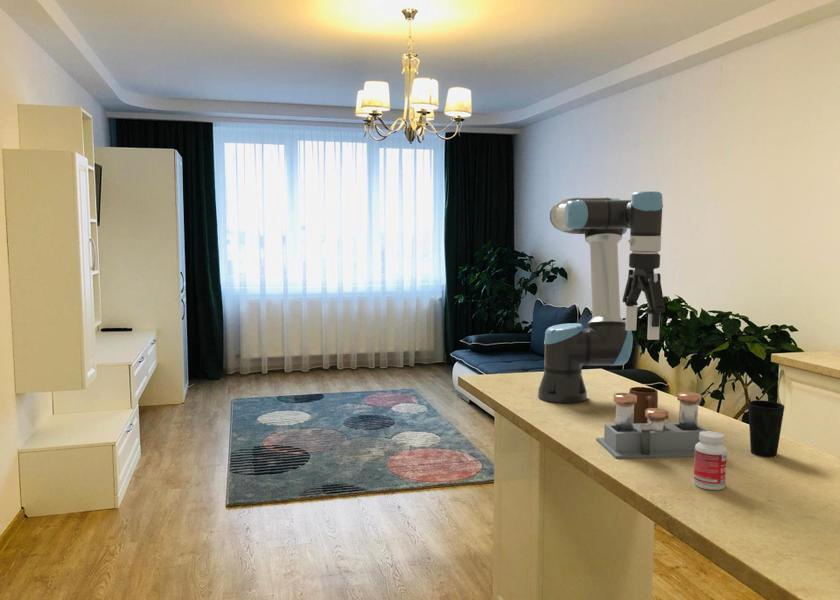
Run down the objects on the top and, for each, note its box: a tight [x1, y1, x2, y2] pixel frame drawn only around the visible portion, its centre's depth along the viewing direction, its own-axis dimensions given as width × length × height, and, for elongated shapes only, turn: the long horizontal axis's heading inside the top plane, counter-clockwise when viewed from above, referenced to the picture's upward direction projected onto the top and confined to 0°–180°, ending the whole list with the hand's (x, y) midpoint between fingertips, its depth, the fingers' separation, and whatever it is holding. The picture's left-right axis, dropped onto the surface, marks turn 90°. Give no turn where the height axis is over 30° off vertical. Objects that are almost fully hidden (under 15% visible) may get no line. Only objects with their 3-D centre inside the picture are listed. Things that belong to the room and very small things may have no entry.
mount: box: [595, 422, 709, 459], centre depth 168 cm, size 14×25×5 cm, turn 94°
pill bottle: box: [693, 430, 728, 491], centre depth 143 cm, size 6×6×11 cm
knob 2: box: [676, 391, 702, 430], centre depth 168 cm, size 5×5×8 cm
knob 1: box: [613, 392, 637, 432], centre depth 167 cm, size 5×5×8 cm
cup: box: [747, 399, 785, 458], centre depth 164 cm, size 8×8×12 cm
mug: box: [628, 386, 659, 424], centre depth 187 cm, size 12×8×9 cm, turn 179°
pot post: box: [640, 424, 652, 455], centre depth 162 cm, size 3×3×7 cm
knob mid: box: [645, 408, 670, 431], centre depth 168 cm, size 5×5×8 cm
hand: (641, 334), depth 178 cm, fingers open, 13 cm apart
